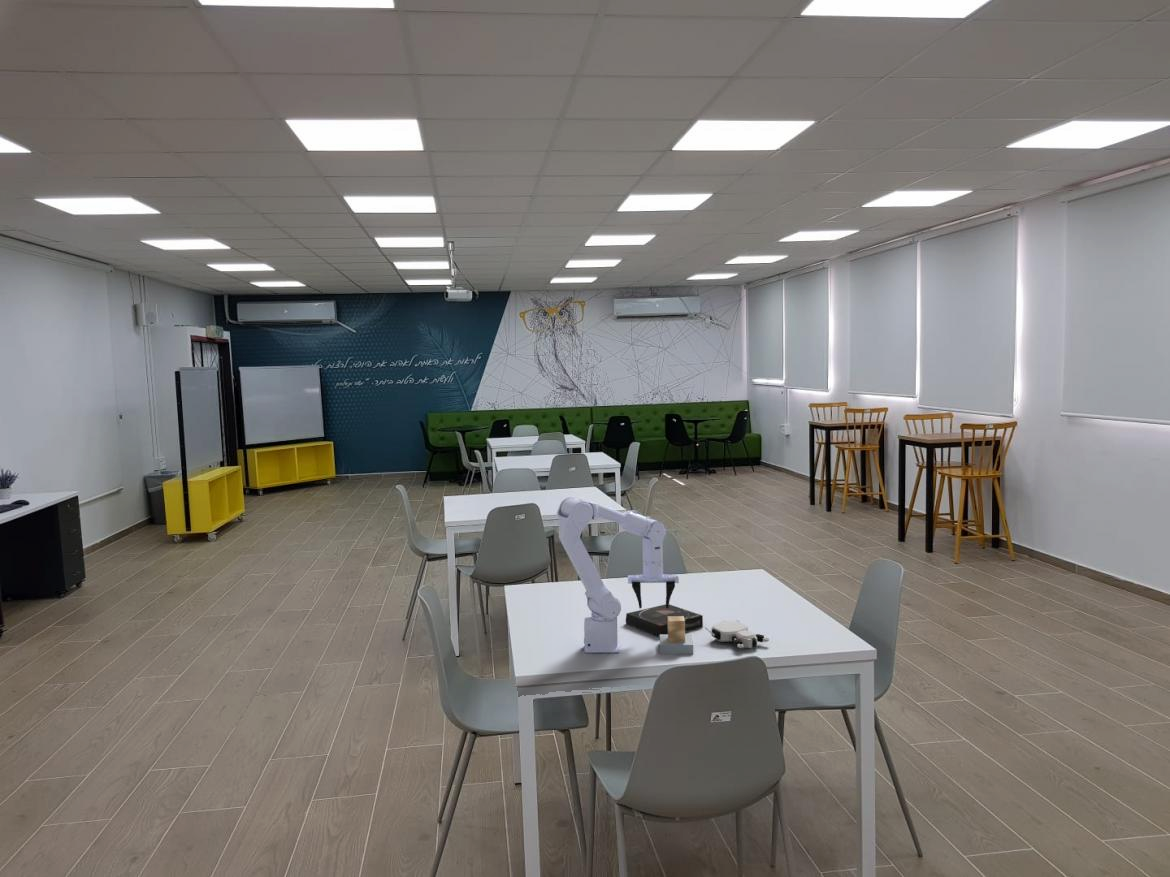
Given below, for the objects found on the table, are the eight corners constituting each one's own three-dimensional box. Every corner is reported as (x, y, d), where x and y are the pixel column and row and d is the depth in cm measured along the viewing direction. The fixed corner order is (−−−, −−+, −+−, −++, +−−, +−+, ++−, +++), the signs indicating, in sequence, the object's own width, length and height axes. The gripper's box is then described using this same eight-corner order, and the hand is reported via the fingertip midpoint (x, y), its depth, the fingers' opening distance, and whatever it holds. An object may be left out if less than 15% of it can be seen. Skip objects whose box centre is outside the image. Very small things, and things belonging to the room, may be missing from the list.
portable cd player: (666, 615, 259) (666, 603, 258) (702, 628, 244) (702, 615, 244) (625, 625, 250) (625, 612, 249) (660, 639, 235) (660, 626, 235)
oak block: (668, 642, 223) (668, 621, 223) (667, 637, 228) (667, 616, 227) (685, 642, 223) (684, 620, 223) (683, 637, 228) (683, 616, 227)
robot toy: (771, 649, 226) (735, 631, 239) (772, 634, 225) (736, 617, 238) (738, 658, 220) (703, 639, 232) (739, 642, 219) (703, 624, 232)
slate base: (660, 655, 222) (660, 644, 222) (659, 644, 231) (659, 634, 230) (693, 655, 221) (693, 644, 221) (691, 644, 230) (691, 634, 230)
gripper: (627, 564, 229) (628, 611, 230) (678, 563, 228) (679, 611, 229) (627, 558, 236) (628, 604, 237) (677, 558, 235) (678, 604, 236)
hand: (653, 607), depth 234 cm, fingers open, 7 cm apart
